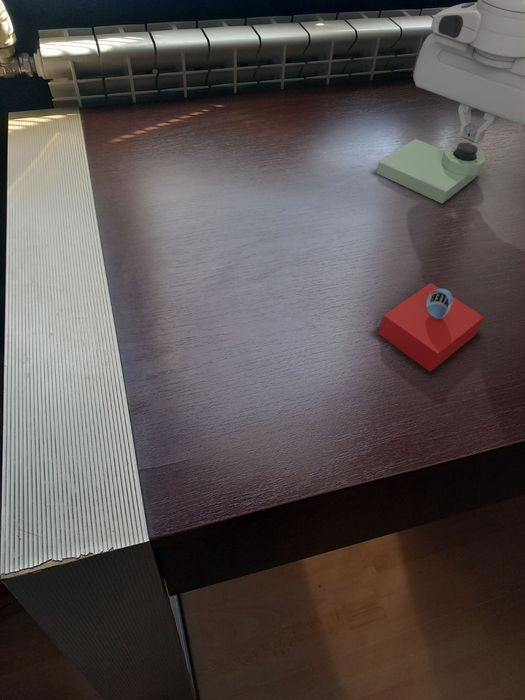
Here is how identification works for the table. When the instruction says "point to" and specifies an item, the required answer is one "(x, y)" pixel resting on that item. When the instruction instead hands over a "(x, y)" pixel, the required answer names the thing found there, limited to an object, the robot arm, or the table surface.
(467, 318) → the low square red plinth
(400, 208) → the table surface
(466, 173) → the pale green flat block
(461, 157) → the button
